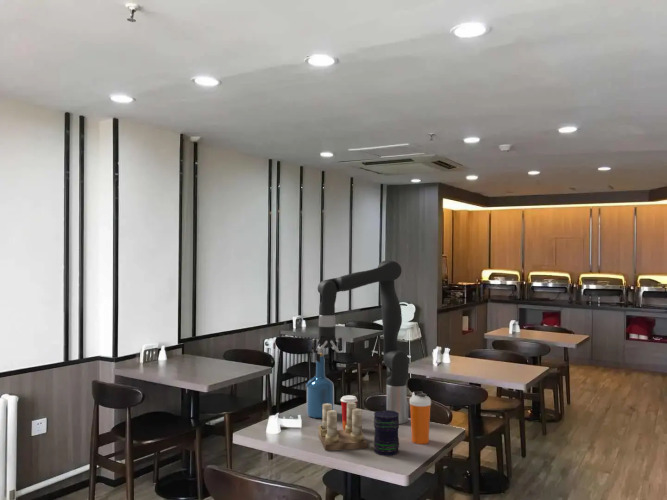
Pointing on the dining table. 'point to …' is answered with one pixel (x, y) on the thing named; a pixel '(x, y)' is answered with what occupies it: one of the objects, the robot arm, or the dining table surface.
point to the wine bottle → (319, 391)
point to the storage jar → (386, 432)
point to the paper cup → (344, 402)
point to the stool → (343, 431)
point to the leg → (326, 408)
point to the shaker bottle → (420, 417)
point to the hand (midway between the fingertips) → (327, 361)
